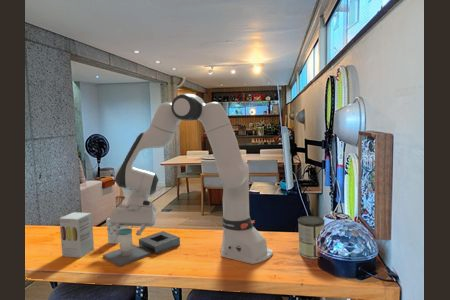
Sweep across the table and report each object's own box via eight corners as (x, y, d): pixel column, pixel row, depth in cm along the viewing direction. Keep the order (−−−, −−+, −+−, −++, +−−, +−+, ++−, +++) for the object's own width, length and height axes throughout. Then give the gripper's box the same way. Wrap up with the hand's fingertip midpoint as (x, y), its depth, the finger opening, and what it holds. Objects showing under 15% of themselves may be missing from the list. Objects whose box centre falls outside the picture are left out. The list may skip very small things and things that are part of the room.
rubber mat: (150, 254, 130) (150, 252, 130) (119, 267, 120) (119, 264, 120) (133, 246, 140) (133, 244, 140) (103, 257, 130) (102, 254, 130)
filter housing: (180, 244, 140) (179, 237, 139) (155, 254, 131) (154, 246, 130) (163, 238, 149) (162, 230, 148) (139, 246, 140) (138, 239, 139)
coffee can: (303, 246, 133) (302, 214, 132) (327, 251, 127) (327, 217, 126) (294, 255, 124) (294, 221, 123) (320, 261, 119) (320, 225, 117)
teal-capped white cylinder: (136, 253, 130) (134, 230, 129) (124, 257, 126) (122, 233, 125) (129, 249, 134) (127, 227, 133) (117, 254, 130) (116, 230, 129)
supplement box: (61, 256, 132) (58, 218, 131) (76, 247, 141) (73, 211, 140) (81, 258, 130) (77, 218, 128) (95, 249, 139) (91, 212, 137)
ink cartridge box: (117, 236, 153) (115, 207, 152) (126, 237, 152) (124, 207, 151) (107, 243, 145) (105, 212, 143) (117, 244, 144) (115, 213, 142)
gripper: (112, 202, 140) (102, 230, 131) (155, 202, 136) (147, 232, 127) (118, 208, 144) (108, 237, 136) (160, 209, 141) (152, 238, 132)
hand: (127, 234), depth 132 cm, fingers open, 8 cm apart
